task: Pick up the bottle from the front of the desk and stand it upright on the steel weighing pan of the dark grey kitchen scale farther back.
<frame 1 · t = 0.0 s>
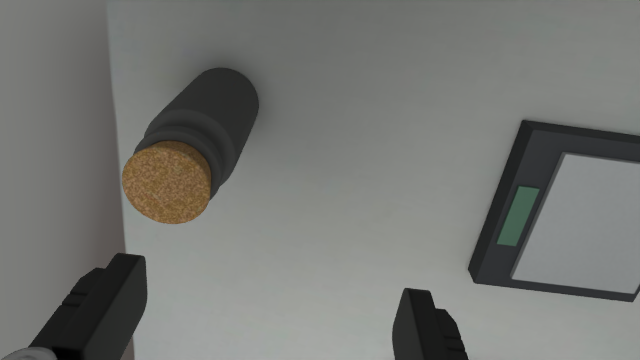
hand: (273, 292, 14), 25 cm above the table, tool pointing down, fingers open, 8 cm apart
scale: (576, 211, 41), on the table
bottle: (224, 101, 37), on the table
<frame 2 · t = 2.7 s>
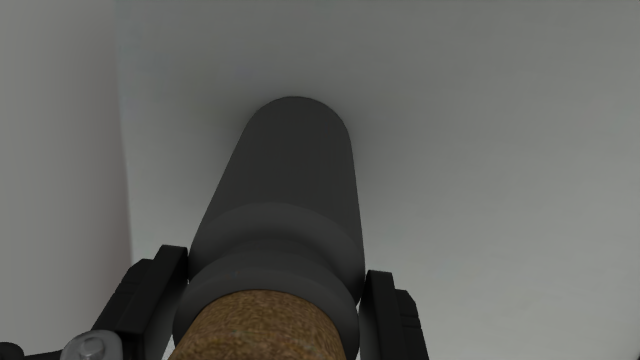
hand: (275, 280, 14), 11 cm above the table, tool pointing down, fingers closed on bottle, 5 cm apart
bottle: (296, 147, 24), on the table, touching gripper
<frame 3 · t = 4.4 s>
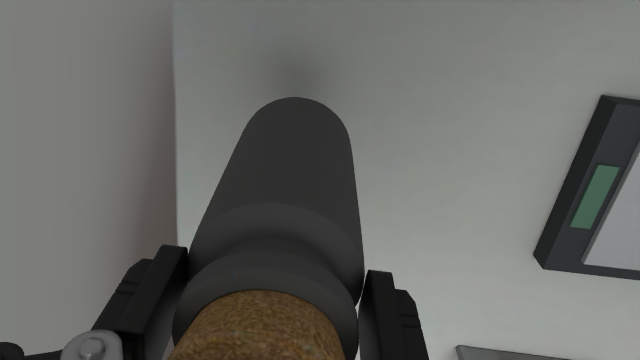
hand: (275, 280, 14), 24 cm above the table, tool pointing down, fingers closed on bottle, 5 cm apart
bottle: (296, 147, 24), point 13 cm above the table, touching gripper
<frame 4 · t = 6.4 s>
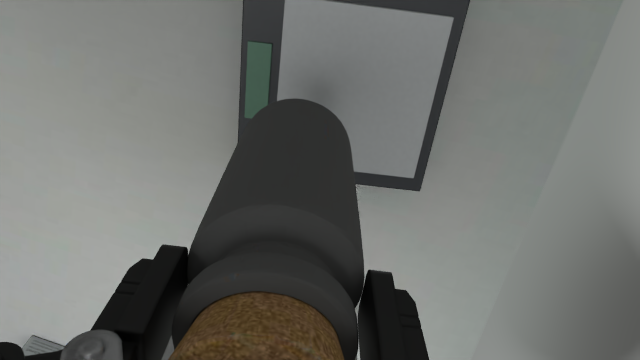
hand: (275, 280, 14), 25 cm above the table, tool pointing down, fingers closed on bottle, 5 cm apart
scale: (341, 84, 36), on the table
bottle: (296, 148, 24), point 14 cm above the table, touching gripper
ink box: (64, 357, 53), on the table
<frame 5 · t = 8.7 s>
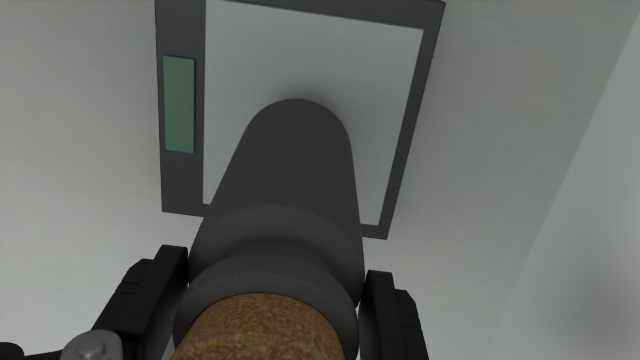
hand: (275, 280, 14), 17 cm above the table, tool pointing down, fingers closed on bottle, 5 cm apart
scale: (289, 108, 30), on the table
bottle: (296, 148, 24), point 6 cm above the table, touching gripper
when the fingers open (13 cm above the table, at t = 10.4 s): bottle stays where it is, resting on scale.
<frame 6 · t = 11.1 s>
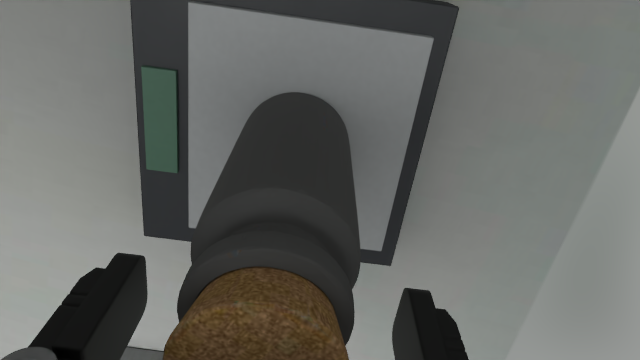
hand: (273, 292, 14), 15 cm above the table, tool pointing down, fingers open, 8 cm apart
scale: (284, 123, 27), on the table
bottle: (296, 141, 24), point 3 cm above the table, touching scale
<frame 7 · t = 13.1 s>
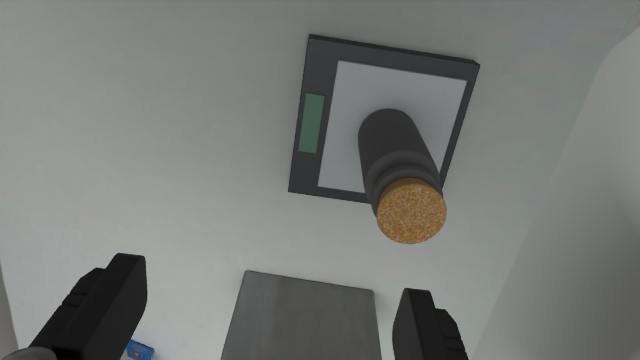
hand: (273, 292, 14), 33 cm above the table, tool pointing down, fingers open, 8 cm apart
scale: (375, 125, 46), on the table
planter: (305, 303, 57), on the table
bottle: (386, 135, 43), point 3 cm above the table, touching scale
ink box: (121, 346, 61), on the table
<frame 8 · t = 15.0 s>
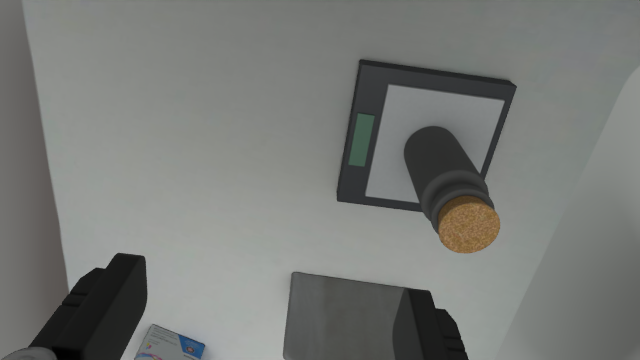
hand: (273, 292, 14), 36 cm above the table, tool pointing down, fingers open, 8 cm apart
scale: (417, 140, 50), on the table
planter: (346, 300, 61), on the table
bottle: (430, 150, 48), point 3 cm above the table, touching scale
ink box: (174, 342, 66), on the table
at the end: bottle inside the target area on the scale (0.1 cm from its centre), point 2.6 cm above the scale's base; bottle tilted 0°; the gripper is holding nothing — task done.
